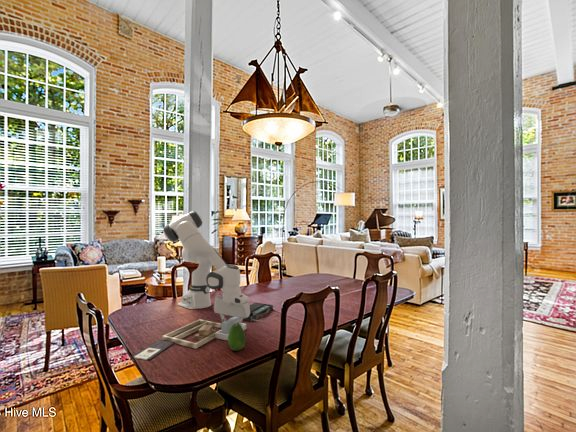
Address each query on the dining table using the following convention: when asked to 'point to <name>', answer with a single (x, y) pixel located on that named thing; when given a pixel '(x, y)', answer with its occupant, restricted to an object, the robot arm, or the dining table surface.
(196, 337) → the offcut low
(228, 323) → the pale grey rectangular block
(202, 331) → the offcut top
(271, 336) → the dining table surface
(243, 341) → the avocado
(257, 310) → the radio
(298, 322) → the dining table surface
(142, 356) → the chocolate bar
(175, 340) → the frame
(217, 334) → the cradle
